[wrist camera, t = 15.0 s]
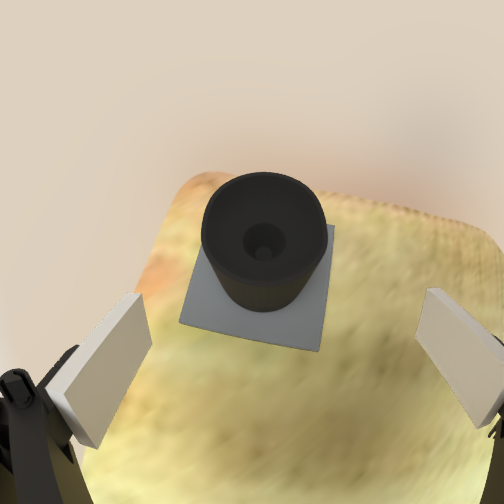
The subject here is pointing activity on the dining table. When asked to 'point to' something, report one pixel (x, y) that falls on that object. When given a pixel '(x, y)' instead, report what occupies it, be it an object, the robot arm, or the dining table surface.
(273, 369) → the dining table surface
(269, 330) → the coaster mat
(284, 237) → the pen holder
